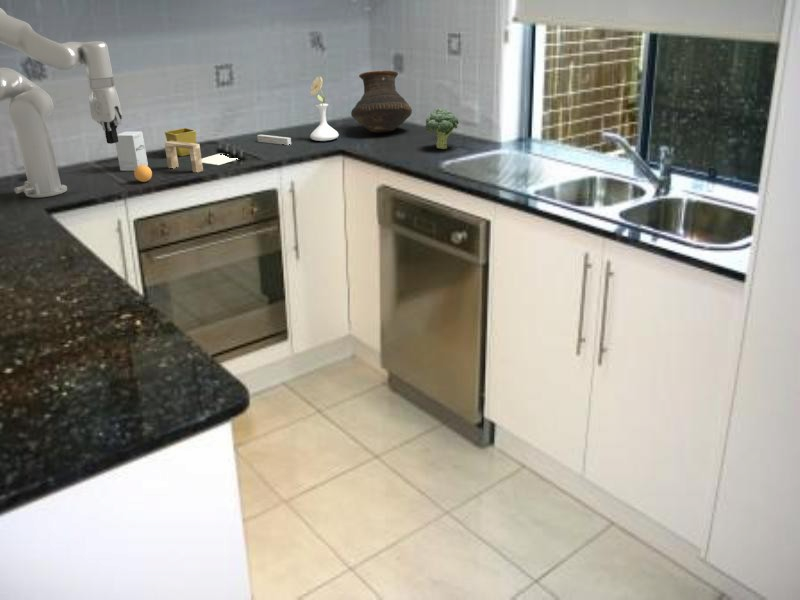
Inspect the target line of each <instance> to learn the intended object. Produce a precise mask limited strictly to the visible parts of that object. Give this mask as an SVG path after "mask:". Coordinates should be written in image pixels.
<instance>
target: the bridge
mask: <svg viewBox="0 0 800 600" xmlns="http://www.w3.org/2000/svg"><path fill="white" fill-rule="evenodd" d="M163 143H164V148H165V149H164V150H165V154H166V160H167V161H166V162H167V168H168V169H170V168H173V169H177V168H179V167H180V166H179V160H178V155H177V153H176V147H179V148H187V149H189V150H190V155H189V156H190V162H191V169H192V172H193V173H196V172H197V173H201V172H203V171H204V166H203V163H202V153H201V146H200V143H196V144H195V143H187V142H179V141H167V140H166V141H164V142H163ZM176 167H177V168H176Z"/></svg>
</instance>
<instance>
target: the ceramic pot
mask: <svg viewBox="0 0 800 600" xmlns="http://www.w3.org/2000/svg"><path fill="white" fill-rule="evenodd" d="M398 75H399V73H398V72H397V71H394V70H374V71H373V70H372V71H366V72H362V73H360V74H359V76H358V78H360V79H361V80H362V83H363V92H364V93H363V95H362V96H361V98H360V100H358V101H357V103H356V104H355V106H354V107H352V109H351V112H350V114H351V116H352V118H353V119H355V121H357V123H359V125H362V126H363V127H364V128H366V130H368V131H370V132H371V133H374V134H382V133H388V132H390V133H391V132H393V131H394V130H396V129H397V128H398V127H400V126H402V125H403V123H404V122H406V120H407V119H409V117H410V116H411V115H412V111H413V109H412V107H411V106H410V105H409V103H408V102H407V101H406V100H405V98H404V97H403V96H401V94H400V93H398V91H397V90H396V78H397V77H398Z"/></svg>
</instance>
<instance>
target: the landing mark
mask: <svg viewBox="0 0 800 600" xmlns="http://www.w3.org/2000/svg"><path fill="white" fill-rule="evenodd" d="M220 154H222V155H220ZM223 154H224V153H216V154H213V155H209V156H206V157H203V158H202V157H201V159H202V164H208V165H215V166H220V165H223V164H226V163H230V162H234V161H237V160H239V159H238V158H229V157H227V156H225V155H223ZM236 159H237V160H236Z"/></svg>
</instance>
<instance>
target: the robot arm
mask: <svg viewBox="0 0 800 600" xmlns="http://www.w3.org/2000/svg"><path fill="white" fill-rule="evenodd" d="M0 44H2V45H4V46H5V45H6V46H7V47H10V48H12V49H14V50H17V51H19V52H21V53H22V54H24V55H26V56H28V57H29V58H30V59H32V60H34V61H37V62H39V63H41V64H44V65H46V66H49V67H52V68H54V69H57V70H61V71H70V70H73V69H75V68H79V67H81V66H84V67H85V73H86V78H87V82H88V102H89V110H90V116H91V118H92V120H93V121H95V122H96V123H97V124H100V125H101V126H102V130H103V131H104V134H105V138H106V144H110V145H111V144H116V142H118V136H117V134H118V132H117V130H118V126H120V125H122V119H123V112H122V106H121V105H122V104H121V103H120V99H119V95H118V92H117V88H116V84H115V80H114V79H115V78H114V75H113V69H112V63H111V58H110V52H109V47H108V44H107V42H105V41H103V40H102V41H100V40H99V41H98V40H97V41H87V42H82V41H68V42H63V43H59V42H57V41H54V40H51V39H50V38H47V37H45V36H43V35H40V34H39V33H38V32H35V30H34V29H33V28H32V26H31V24H29V23H28V22H26V21H24V20H21V19H18V18H16V17H14V16H12V15H8V14H7V13H6V11H5V10H4V9H3V8H1V7H0ZM7 100H8V101H9V103H8V109H7V110H8V115H9V116H8V117H9V119H10V121H11V124H12V126H13V129H14V132H15V134H16V139H17V141H18V142H17V143H18V146H19V150H20V154H21V159H22V163H23V168H24V171H25V175H26V179H27V180H26V181H24V184H22V185H21V186H17V187H14V189H13V190H14V192H15V194H20V193H21V194H22V193H24V194H25V196H26V197H28V198H32V199H33V198H35V199H38V198H39V199H40V198H48V197H54V196H58V195H61V194H63V193H65V192H67V191H68V186H67V185H65V184H61V178H60V175H59V169H58V165H57V159H56V156H55V152H54V148H53V147H54V146H53V143H52V138H51V134H50V131H49V128H48V126H47V124H46V121H45V119H47V118H49V116H50V115H51V114H52V113H53V111H54V106H55V105H54V102H53V99H52V97H51V96H50V94H49V93H48V92H47V91H45V90H44V89H42V87H40V86H39V85H37V84H36V83H34V82H32V81H31V80H30V79H28V78H27V77H25V76H24V75H23V74H21V73H20V72H19V71H17V70H15V69H12V68H11V67H10V68H9V67H0V103H2V102H6V101H7Z"/></svg>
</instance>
